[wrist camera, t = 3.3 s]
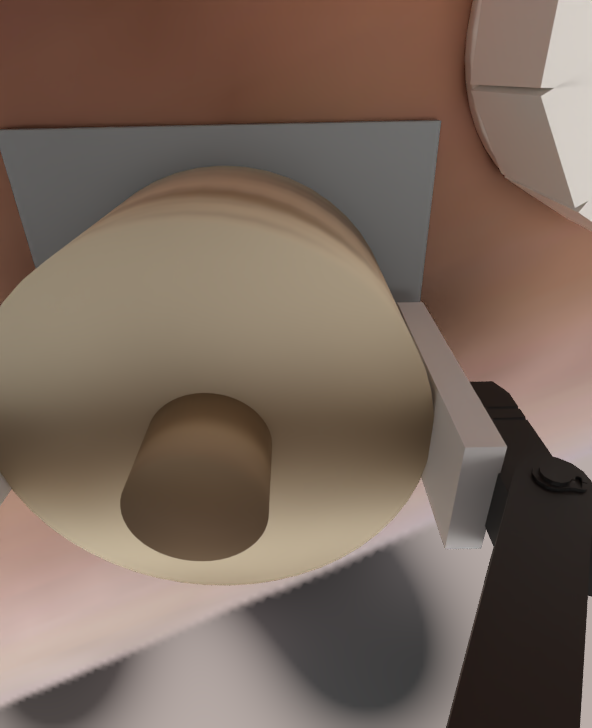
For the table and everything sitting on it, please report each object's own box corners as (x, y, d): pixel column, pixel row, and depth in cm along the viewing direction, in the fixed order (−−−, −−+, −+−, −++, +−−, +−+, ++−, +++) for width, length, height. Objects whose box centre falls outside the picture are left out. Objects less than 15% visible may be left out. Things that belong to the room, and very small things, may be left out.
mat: (1, 129, 14) (-6, 130, 13) (437, 120, 14) (441, 121, 13) (98, 460, 20) (95, 467, 19) (398, 454, 20) (401, 461, 19)
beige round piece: (41, 169, 14) (-211, 264, 7) (400, 161, 14) (512, 249, 7) (115, 447, 19) (13, 663, 12) (377, 442, 19) (427, 655, 12)
